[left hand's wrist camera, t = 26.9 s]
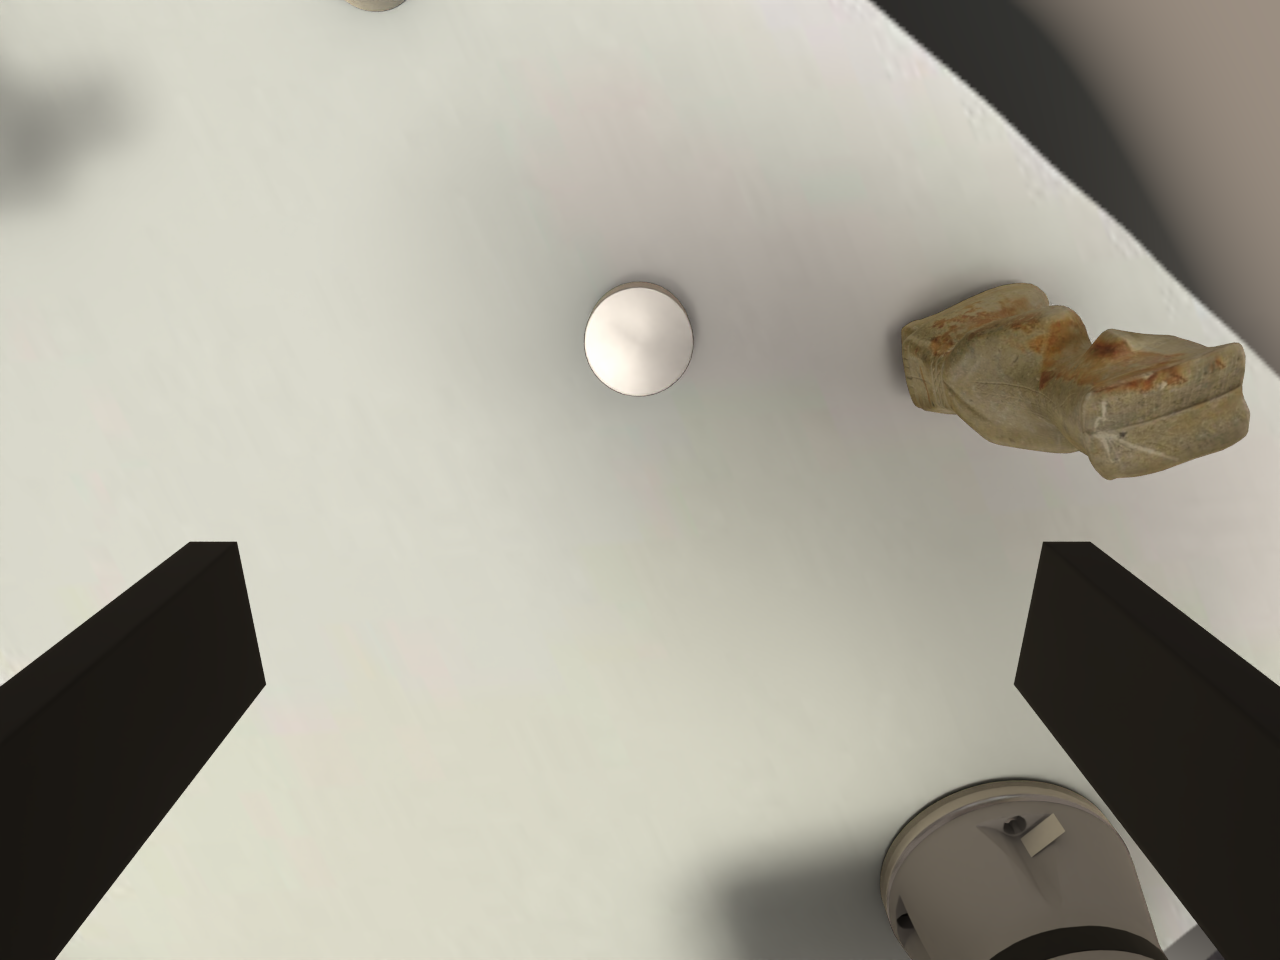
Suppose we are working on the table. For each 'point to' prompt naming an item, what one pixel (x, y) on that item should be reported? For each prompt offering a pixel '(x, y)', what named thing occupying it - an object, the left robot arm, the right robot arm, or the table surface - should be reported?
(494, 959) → the table surface
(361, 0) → the grey cylindrical bottle
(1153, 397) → the sculpture
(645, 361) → the lid
